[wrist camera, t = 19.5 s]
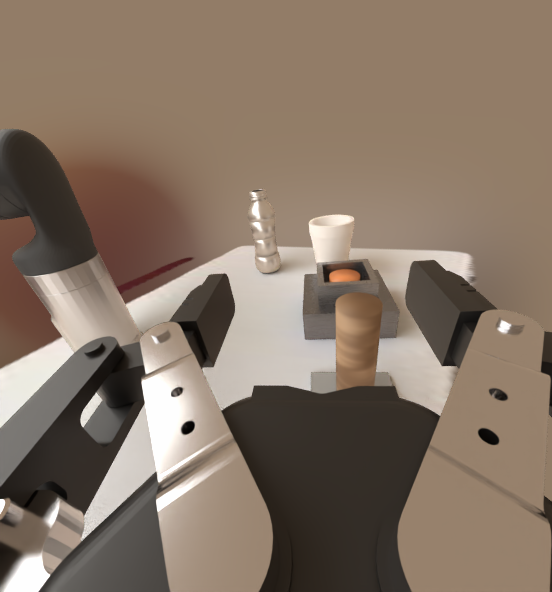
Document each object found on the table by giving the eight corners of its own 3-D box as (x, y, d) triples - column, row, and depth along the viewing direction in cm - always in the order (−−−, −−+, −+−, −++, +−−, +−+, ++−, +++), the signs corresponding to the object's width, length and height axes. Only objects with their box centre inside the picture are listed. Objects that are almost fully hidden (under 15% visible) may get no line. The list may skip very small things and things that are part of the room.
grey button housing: (305, 339, 41) (301, 295, 37) (306, 295, 53) (303, 258, 49) (395, 337, 39) (402, 290, 34) (375, 292, 50) (378, 252, 46)
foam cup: (307, 282, 58) (302, 226, 51) (318, 265, 65) (315, 215, 58) (348, 286, 54) (350, 226, 47) (355, 268, 61) (357, 214, 54)
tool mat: (311, 440, 27) (311, 437, 26) (311, 375, 34) (310, 372, 34) (411, 445, 25) (412, 442, 25) (387, 375, 33) (388, 372, 32)
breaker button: (330, 296, 41) (330, 283, 40) (328, 282, 46) (328, 270, 44) (361, 295, 41) (362, 281, 39) (357, 280, 45) (357, 268, 44)
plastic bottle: (258, 267, 69) (244, 190, 59) (282, 264, 69) (272, 186, 59) (256, 277, 64) (240, 194, 54) (282, 274, 63) (271, 190, 53)
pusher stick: (337, 418, 28) (337, 317, 21) (335, 388, 31) (333, 293, 24) (375, 419, 27) (388, 316, 20) (368, 389, 31) (377, 291, 24)
